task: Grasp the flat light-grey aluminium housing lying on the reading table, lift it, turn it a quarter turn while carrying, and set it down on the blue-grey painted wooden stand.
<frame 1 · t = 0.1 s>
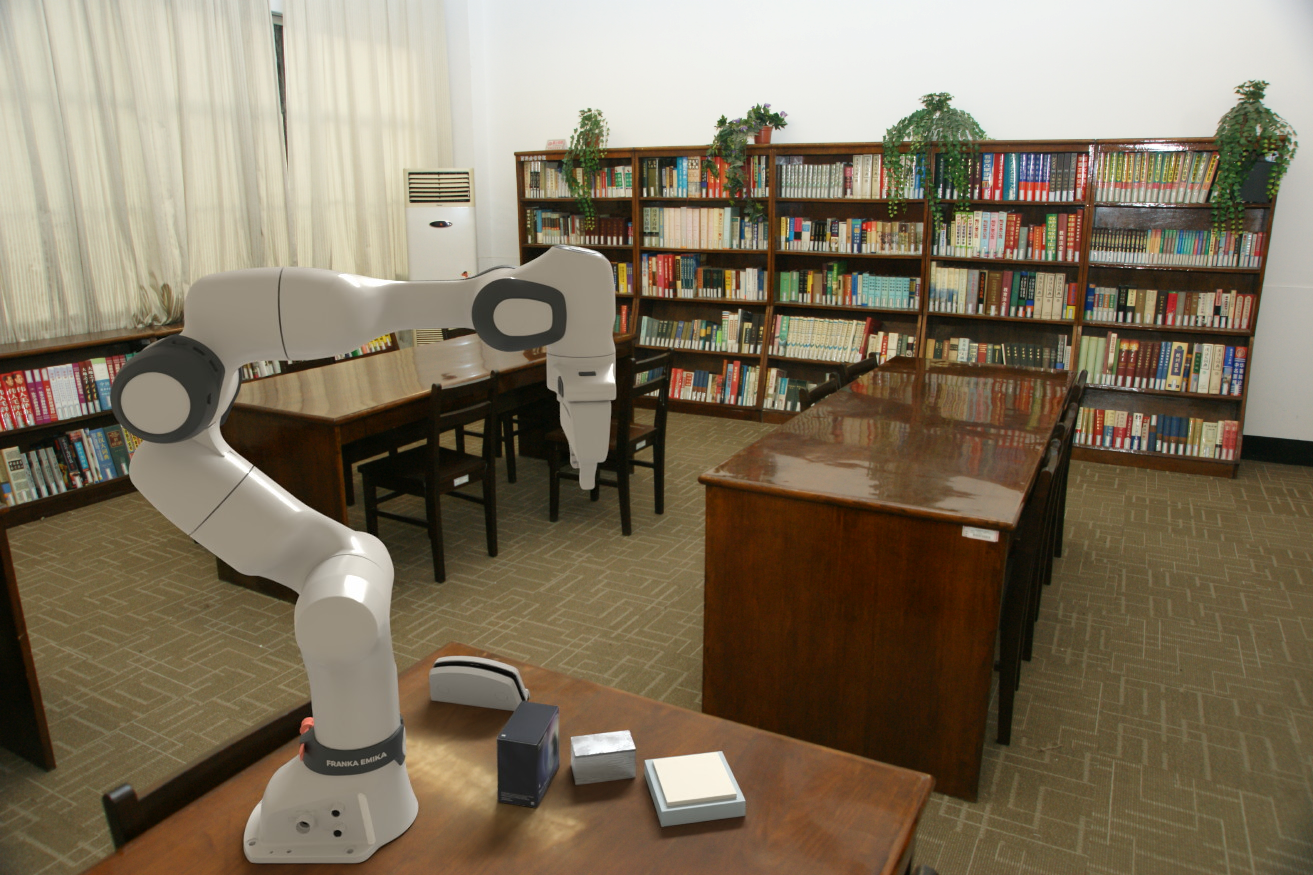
hand: (582, 476, 120), 48 cm above the table, fingers open, 8 cm apart
stand: (693, 793, 131), on the table
white slotted block: (478, 704, 154), on the table
housing: (602, 771, 136), on the table
small box: (530, 784, 133), on the table
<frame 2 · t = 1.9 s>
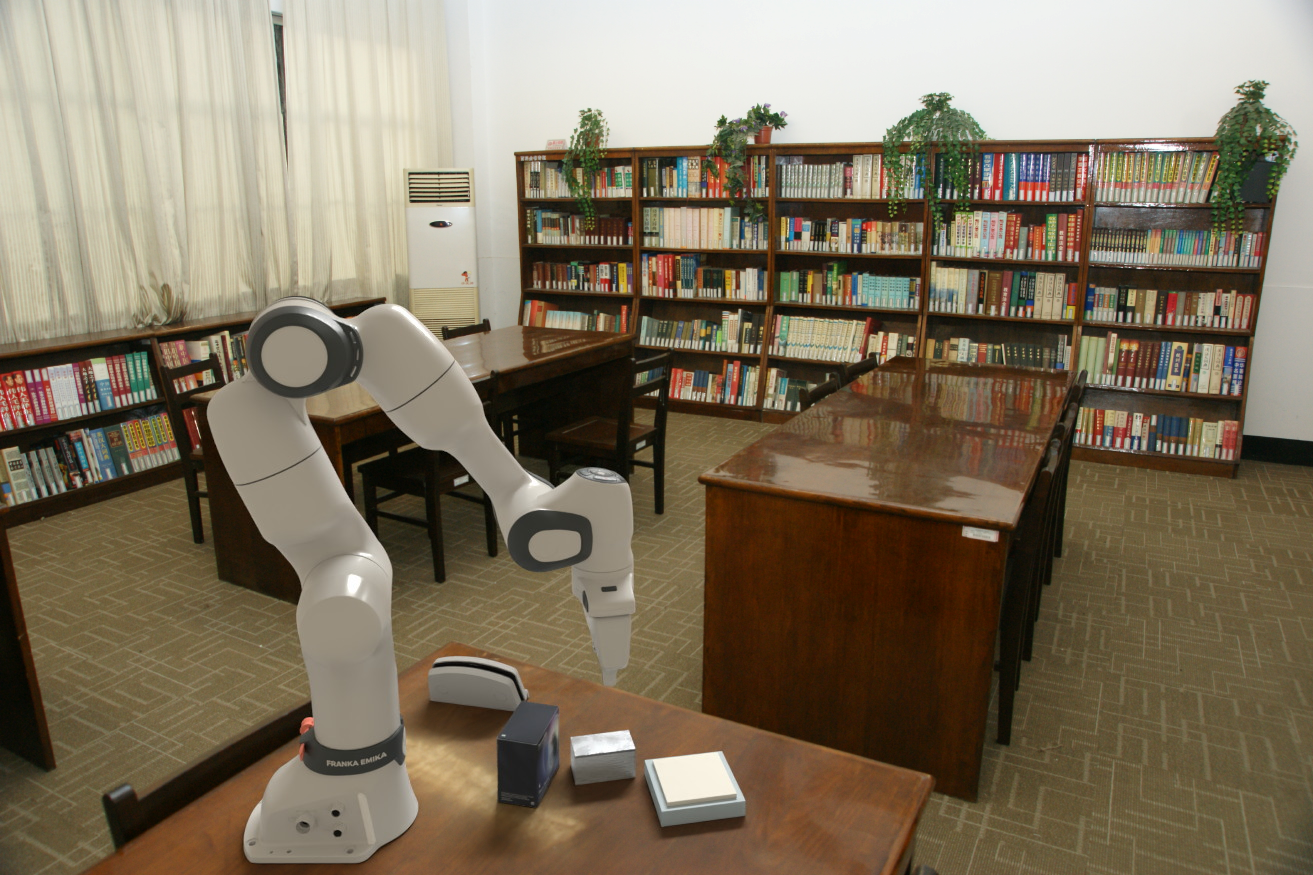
hand: (604, 666, 132), 17 cm above the table, fingers open, 8 cm apart
nothing on the table moved.
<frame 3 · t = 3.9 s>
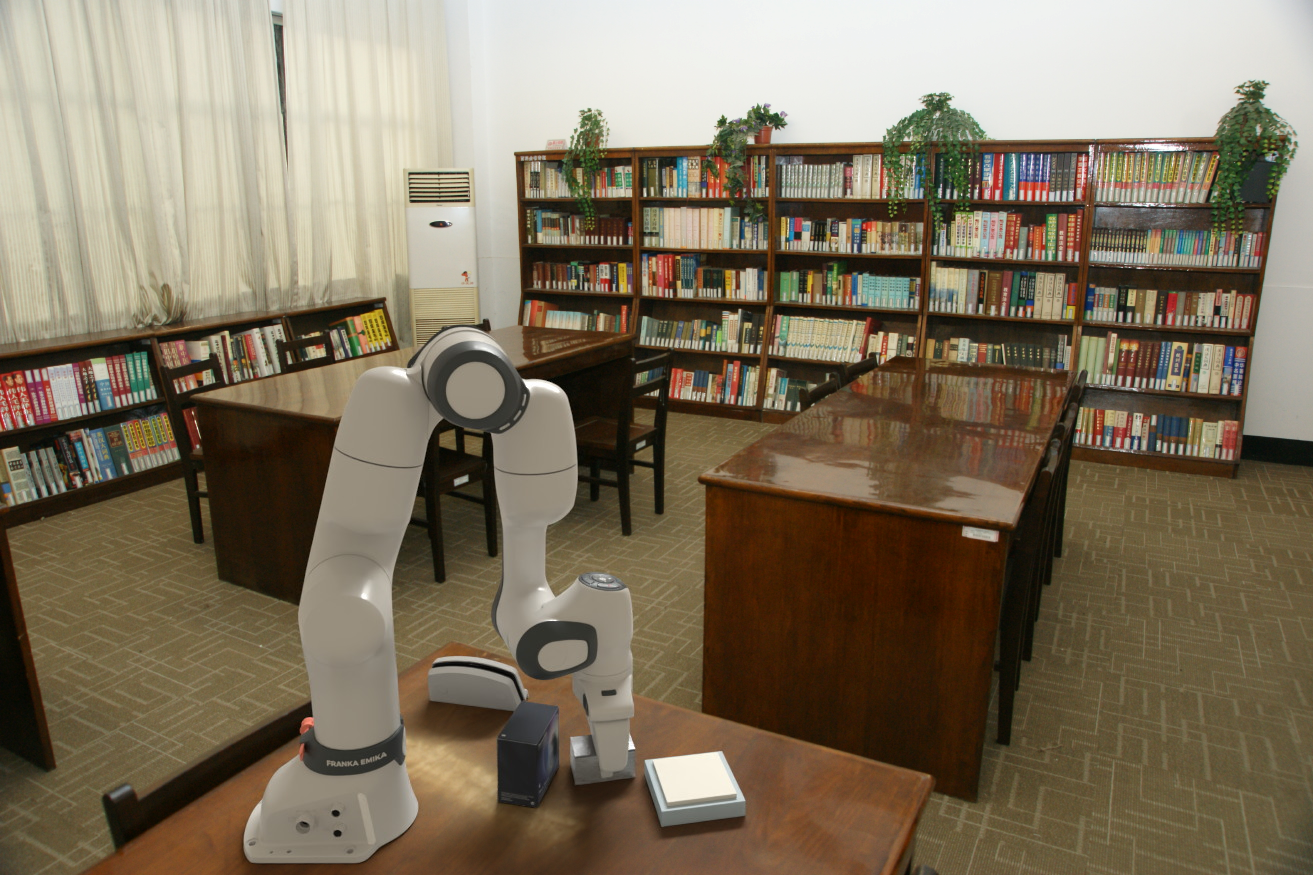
hand: (602, 761, 136), 2 cm above the table, fingers closed on housing, 5 cm apart
housing: (602, 771, 136), on the table, touching gripper
everything else where it was.
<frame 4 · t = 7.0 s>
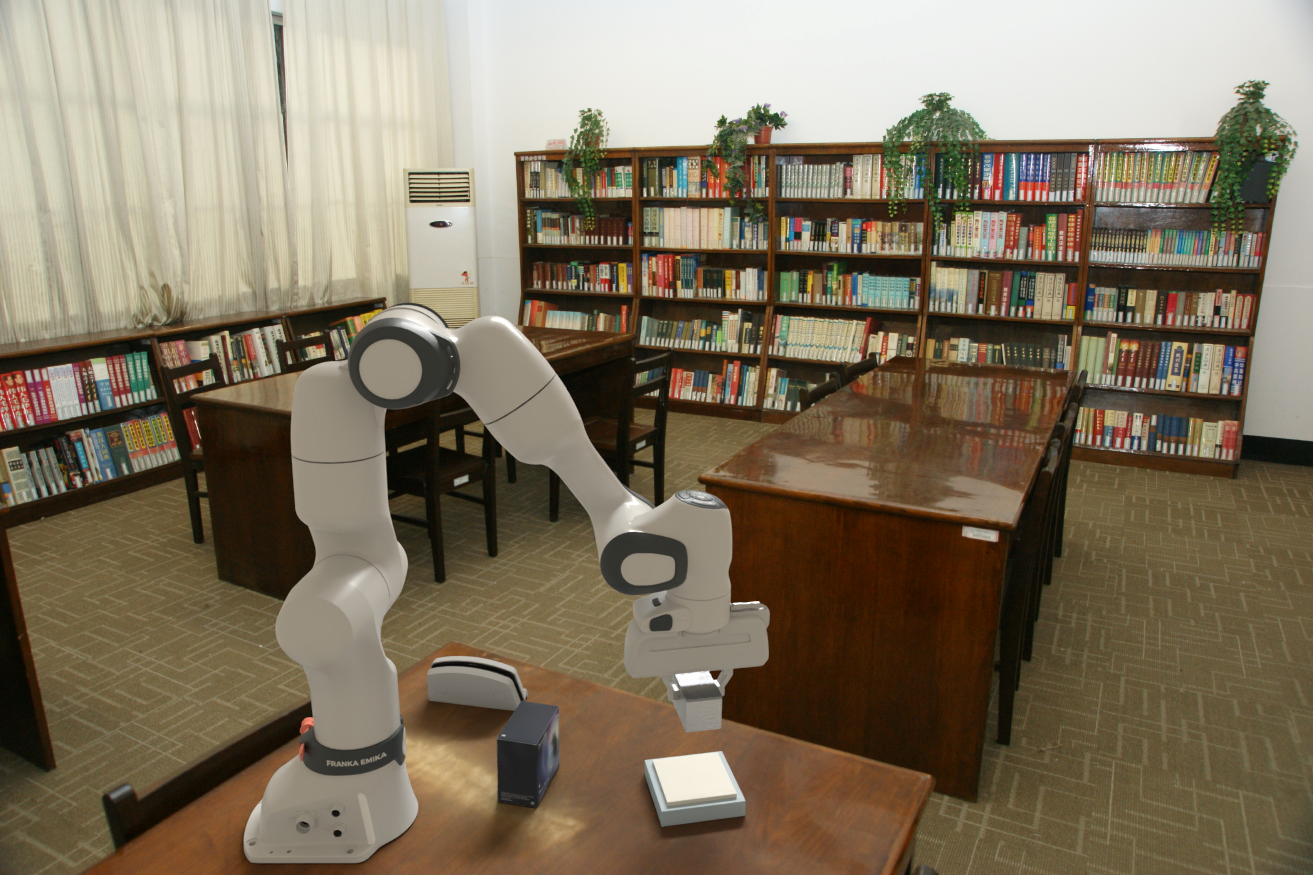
hand: (695, 696, 127), 16 cm above the table, fingers closed on housing, 5 cm apart
housing: (695, 712, 128), point 13 cm above the table, touching gripper
everything else where it was.
when the fingers open (6 cm above the table, at t = 9.4 s): housing stays where it is, resting on stand.
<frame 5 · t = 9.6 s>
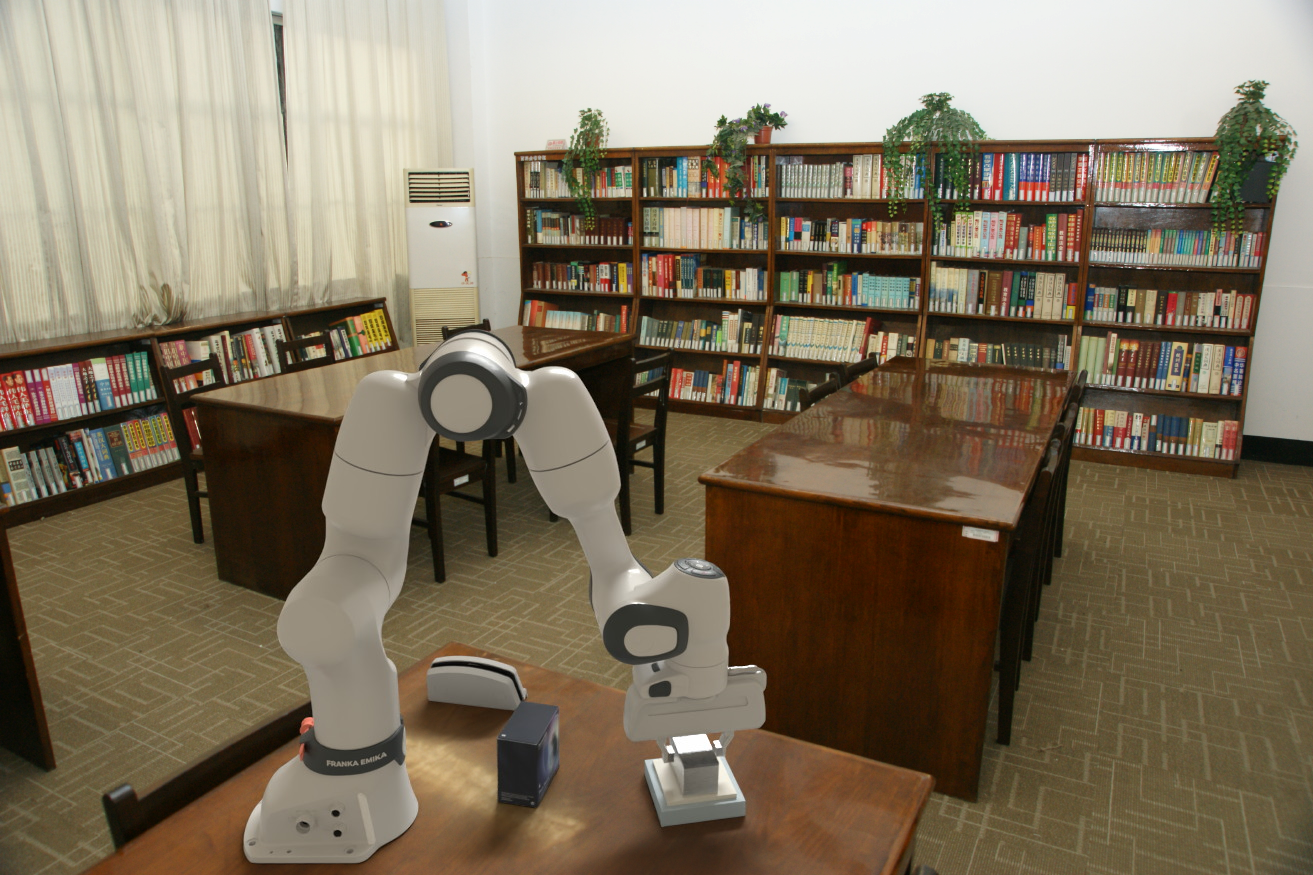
hand: (693, 757, 130), 6 cm above the table, fingers open, 6 cm apart
housing: (692, 776, 130), point 3 cm above the table, touching stand
everything else where it was.
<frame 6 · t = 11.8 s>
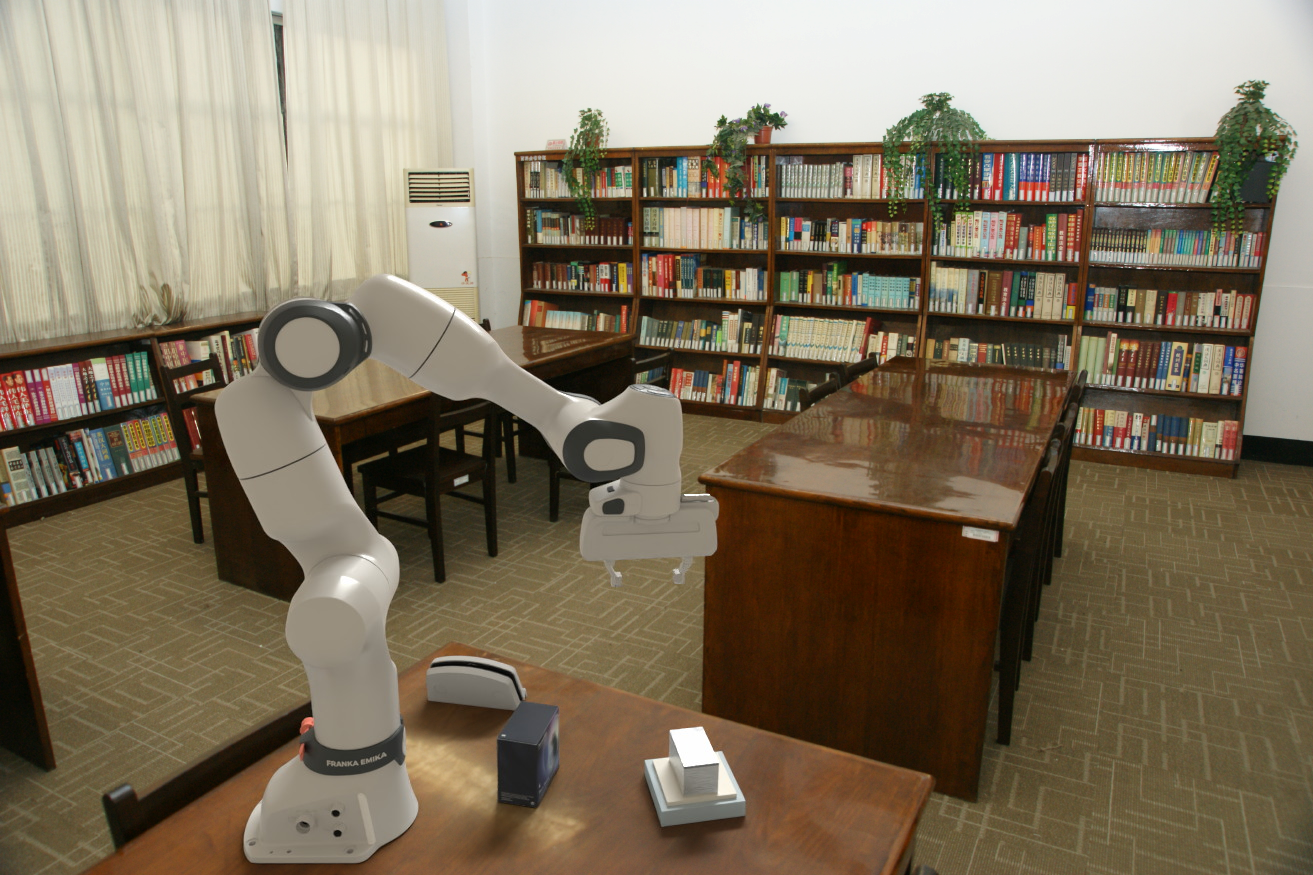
hand: (647, 583, 134), 28 cm above the table, fingers open, 8 cm apart
nothing on the table moved.
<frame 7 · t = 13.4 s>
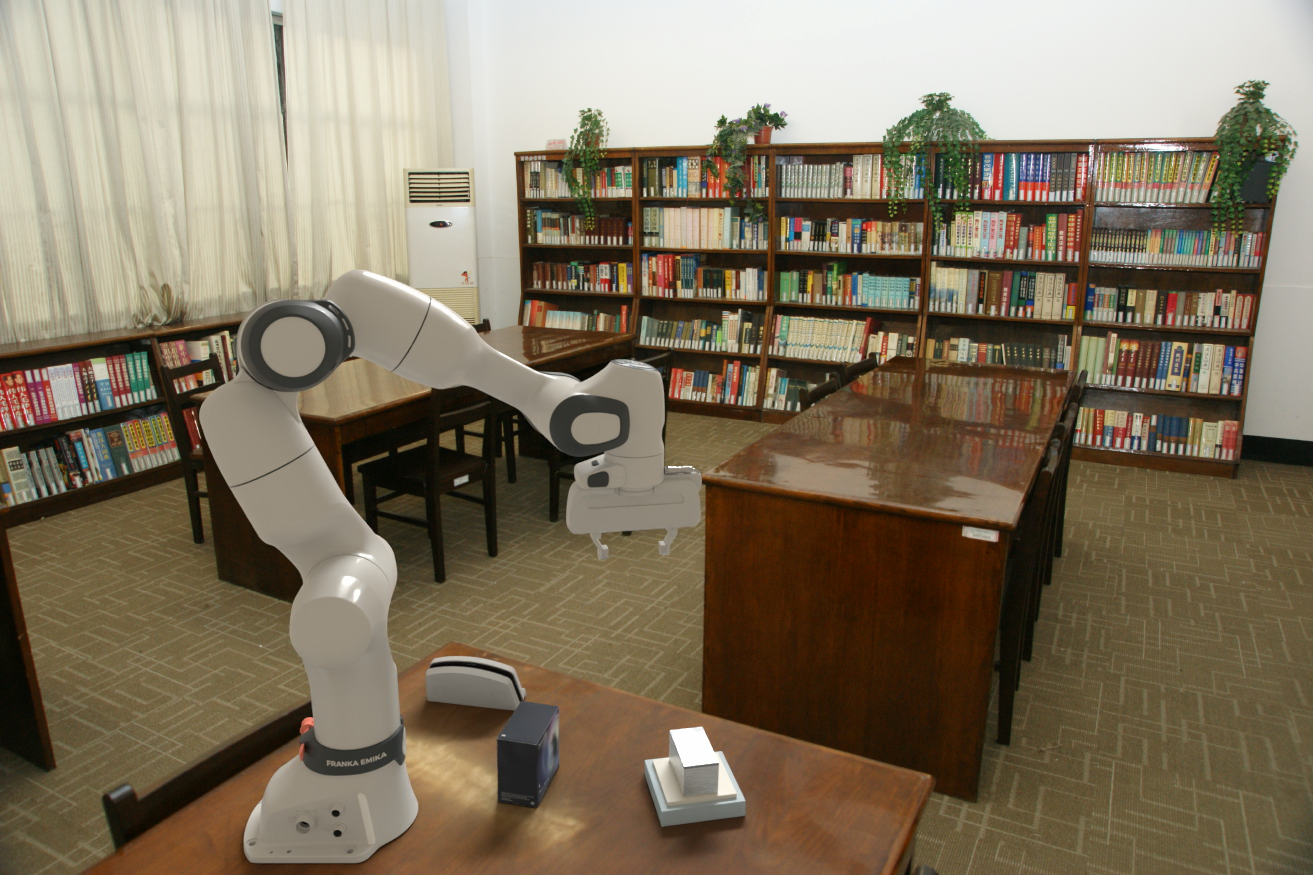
hand: (633, 555, 137), 31 cm above the table, fingers open, 8 cm apart
nothing on the table moved.
at the end: housing inside the target area on the stand (0.1 cm from its centre), point 3.0 cm above the stand's base; housing tilted 0°; the gripper is holding nothing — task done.
